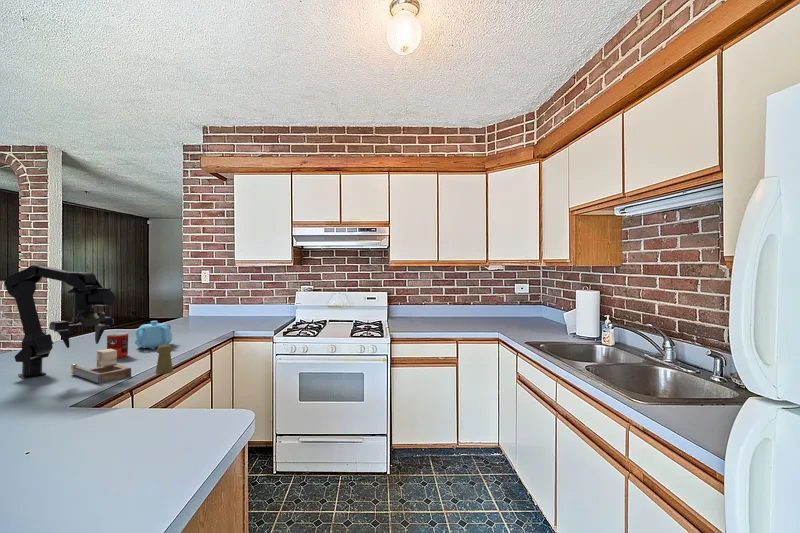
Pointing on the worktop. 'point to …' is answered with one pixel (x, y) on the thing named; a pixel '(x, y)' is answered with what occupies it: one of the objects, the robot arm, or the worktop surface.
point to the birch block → (106, 357)
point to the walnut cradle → (112, 372)
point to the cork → (164, 360)
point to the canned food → (118, 343)
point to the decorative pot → (153, 335)
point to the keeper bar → (85, 373)
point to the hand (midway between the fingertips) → (82, 345)
